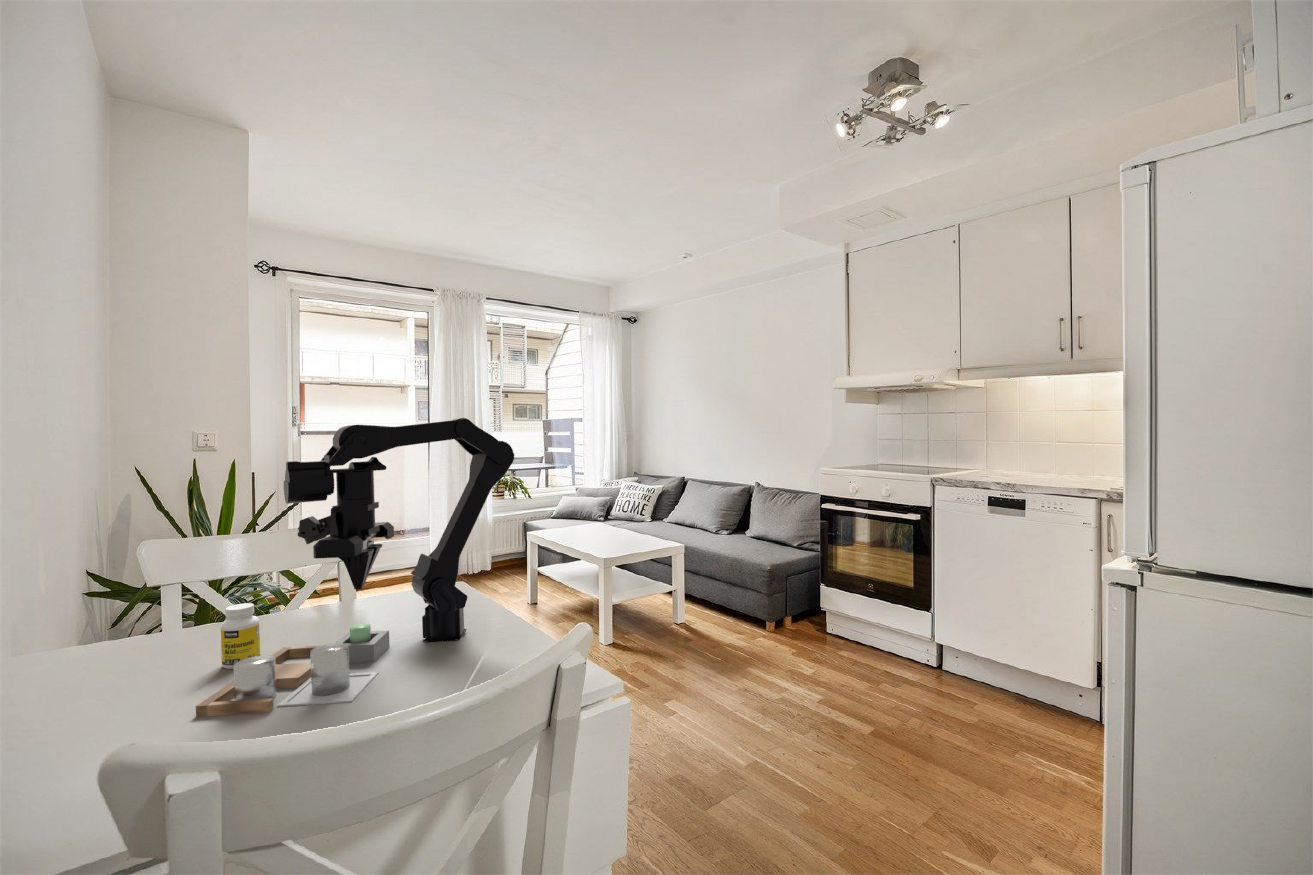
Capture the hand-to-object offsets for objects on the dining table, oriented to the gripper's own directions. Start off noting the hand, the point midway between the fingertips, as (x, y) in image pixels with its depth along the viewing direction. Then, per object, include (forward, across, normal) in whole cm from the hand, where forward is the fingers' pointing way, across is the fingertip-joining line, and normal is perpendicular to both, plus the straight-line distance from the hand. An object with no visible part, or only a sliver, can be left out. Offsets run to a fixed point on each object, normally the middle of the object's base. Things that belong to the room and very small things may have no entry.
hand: (358, 589), depth 102 cm
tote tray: (+12, +14, +1) cm, 18 cm away
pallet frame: (+12, +9, -9) cm, 17 cm away
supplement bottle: (+12, -1, -20) cm, 24 cm away
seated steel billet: (+12, +16, -8) cm, 21 cm away
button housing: (+12, 0, 0) cm, 12 cm away
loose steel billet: (+11, +14, +1) cm, 18 cm away
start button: (+9, 0, 0) cm, 9 cm away
